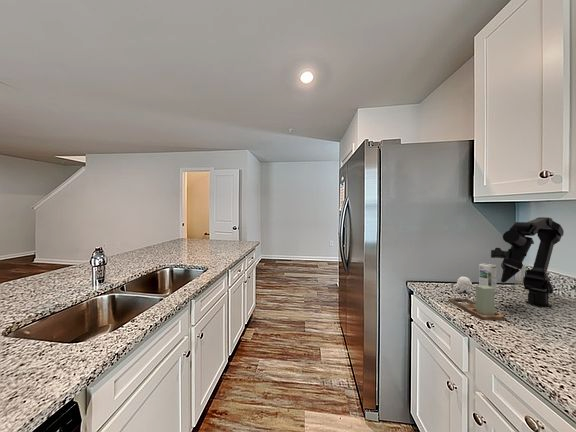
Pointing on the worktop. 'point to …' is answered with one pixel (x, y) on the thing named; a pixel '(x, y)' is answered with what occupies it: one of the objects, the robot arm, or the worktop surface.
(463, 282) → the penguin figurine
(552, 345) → the worktop surface
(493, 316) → the copper brown frame
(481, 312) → the sage peg
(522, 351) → the worktop surface
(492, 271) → the syrup box
